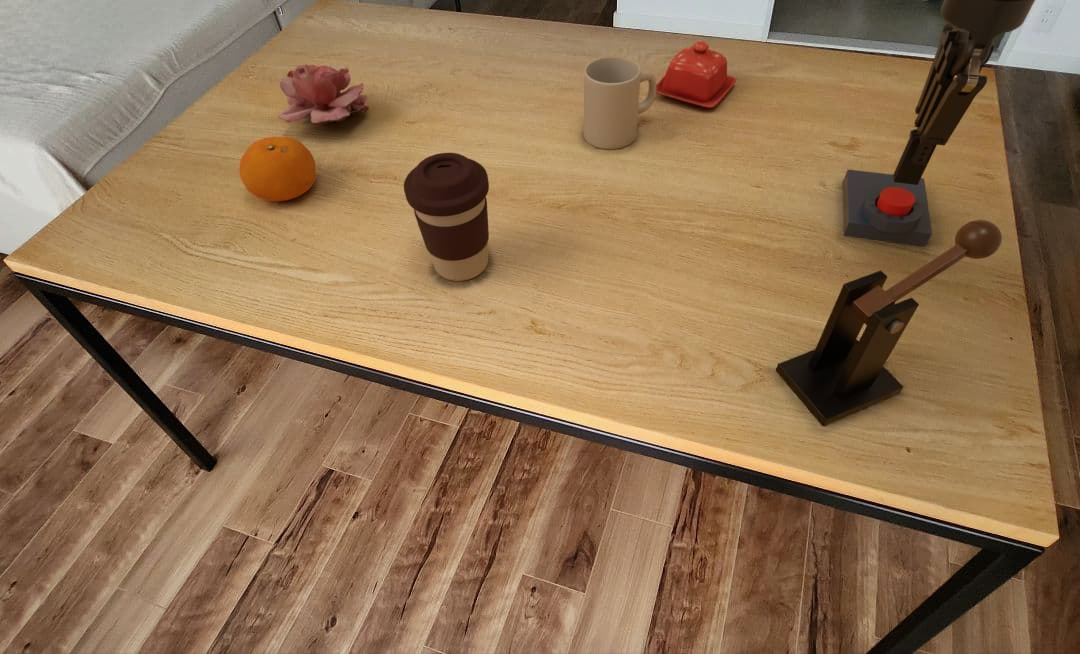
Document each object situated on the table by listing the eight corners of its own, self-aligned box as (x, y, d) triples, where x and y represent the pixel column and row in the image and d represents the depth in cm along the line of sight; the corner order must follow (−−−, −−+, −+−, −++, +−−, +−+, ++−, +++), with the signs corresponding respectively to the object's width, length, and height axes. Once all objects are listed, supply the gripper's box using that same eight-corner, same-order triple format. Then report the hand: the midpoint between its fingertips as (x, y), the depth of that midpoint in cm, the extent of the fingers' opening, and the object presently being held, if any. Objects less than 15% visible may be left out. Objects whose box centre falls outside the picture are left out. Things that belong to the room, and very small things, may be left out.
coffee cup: (474, 299, 81) (457, 203, 70) (410, 276, 84) (383, 182, 73) (512, 250, 86) (501, 155, 75) (449, 231, 90) (430, 137, 78)
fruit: (304, 215, 94) (285, 169, 88) (239, 208, 95) (216, 163, 89) (333, 172, 100) (317, 127, 94) (272, 167, 102) (252, 122, 96)
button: (911, 219, 81) (916, 208, 80) (877, 214, 82) (881, 203, 81) (908, 200, 84) (913, 189, 82) (875, 195, 85) (880, 185, 83)
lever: (978, 227, 62) (981, 205, 59) (1009, 250, 60) (1014, 228, 57) (849, 311, 64) (847, 293, 61) (875, 336, 61) (874, 319, 59)
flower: (355, 133, 102) (336, 67, 97) (273, 142, 105) (250, 79, 100) (388, 109, 114) (373, 50, 109) (314, 118, 117) (296, 61, 112)
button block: (926, 251, 82) (939, 227, 79) (843, 239, 85) (853, 216, 82) (918, 191, 90) (929, 167, 87) (842, 181, 93) (851, 158, 90)
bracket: (848, 341, 73) (892, 251, 63) (900, 393, 69) (956, 305, 58) (775, 370, 71) (808, 282, 61) (822, 426, 66) (867, 341, 56)
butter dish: (738, 84, 112) (748, 35, 105) (711, 115, 106) (719, 66, 99) (678, 69, 116) (683, 21, 110) (648, 98, 110) (652, 50, 104)
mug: (598, 155, 100) (599, 89, 92) (574, 128, 105) (574, 64, 97) (665, 135, 103) (672, 69, 94) (639, 110, 108) (643, 46, 100)
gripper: (1056, 10, 57) (943, 217, 75) (1029, -45, 65) (933, 153, 83) (963, 4, 59) (875, 208, 77) (948, -49, 67) (871, 147, 85)
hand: (905, 179), depth 80 cm, fingers closed
